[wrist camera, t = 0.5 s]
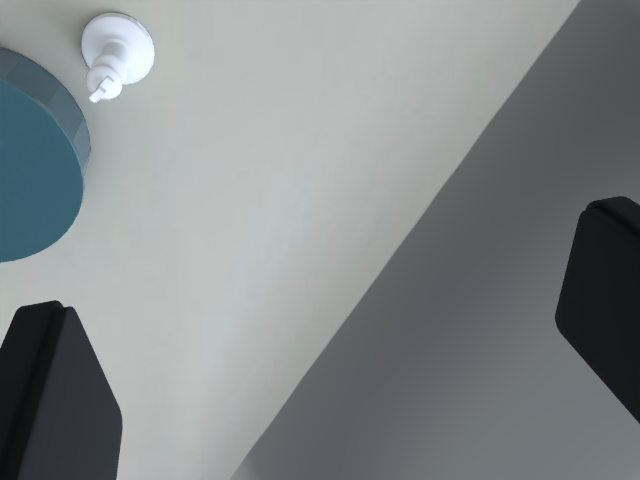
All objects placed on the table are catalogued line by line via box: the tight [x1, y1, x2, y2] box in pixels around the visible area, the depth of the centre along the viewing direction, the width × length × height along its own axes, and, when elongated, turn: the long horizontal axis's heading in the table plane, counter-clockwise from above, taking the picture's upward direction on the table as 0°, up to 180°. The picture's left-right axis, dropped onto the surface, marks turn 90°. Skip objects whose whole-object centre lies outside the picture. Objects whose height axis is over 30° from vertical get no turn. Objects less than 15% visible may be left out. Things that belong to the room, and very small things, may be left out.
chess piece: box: [81, 13, 155, 103], centre depth 33 cm, size 5×5×10 cm
